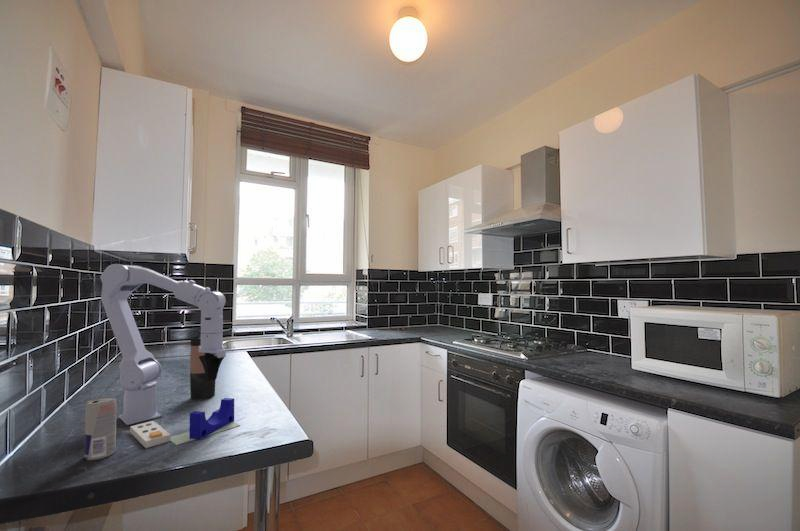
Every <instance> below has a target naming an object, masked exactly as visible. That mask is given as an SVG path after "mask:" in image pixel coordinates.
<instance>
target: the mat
mask: <svg viewBox="0 0 800 531" xmlns="http://www.w3.org/2000/svg"><path fill="white" fill-rule="evenodd" d="M240 426H241V425H240V424H239V423H237V422H236V421H235V420H234V421H233V422H231V423H229V424H227V425H226V426H224V427H222V428H220V429H218V430H216V431H214V432H213V433H211V434H209V435H207V436H211V435H215V434H218V433H221V432H224V431H227V430H231V429H233V428H237V427H240ZM189 436H190V430H189V431H187V432H183V433H179V434H177V435H176V434H175V435H173V436H170V441H169V442H171V443H172V444H173V445H175V446H179V445H182V444H185V443H189V442H193V441H195V440H197V439H191V438H189ZM207 436H206V437H207Z"/></svg>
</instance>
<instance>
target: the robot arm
mask: <svg viewBox="0 0 800 531" xmlns="http://www.w3.org/2000/svg"><path fill="white" fill-rule="evenodd" d="M99 278H100V281H101V283H102V287H101V295H100V296H101V297H100V300H101V302H102V306H103V308H104V310H105V314H106V316H107V318H108V321H109V324H110V327H111V329H112V333H113V335H114V338H115V341H116V343H117V345H118V348H119V351H120V354H121V356H122V359H121V361H120V362H119V364H118V369H119V382H120V384H121V386H122V387H123V388H124V394H123V409H122V410H123V411H122V412H123V414H121V415H119V416H118V418H119V419H120V420H121V421H122V422H124V424H125V425H127V426H129V425H133V424H137V423H141V422H145V421H146V422H147V421H149V420H154V419H157V418H161V417H162V415H161V414H160V412H158V411H157V382H158V378H159V377H160V376H161V374H162V365H161V363H160V361H159V360H157V359H156V358H155V356H154V354H153V353H152V352H150V351H149V350H148V349H146V346H145V344H144V341H143V339H142V336H141V334H140V331H139V328H138V326H137V323H136V320H135V317H134V315H133V312H132V310H131V307H130V305H129V302H128V299H129V297H130V295H131V294H132V293H133V292H134V291H135V290H137V289H138V288H139V287H141V286H142V285H143V284H149V285H152V286H154V287H157V288H161V289H162V290H166V291H169V292H171V293H173V294H174V297H175V299H177V300H180V301H182V302H185V303H188V304H189V305H192V306H195V307H198V309H199V310H200V336H201V346H199V352H203V353H205V355H204V356H199V359H200V361H201V362H202V365H203V367H204V371H205V375H206V379H207V380H208V381H211V380H215V381H216V380H217V377H218V373H219V368H220V366H221V364H222V363H223V362H222V361H223V360H224V358H226V356H227V355H226V353H227V350H226V349H227V346H226V345H224V344H223V343H224V342H223V341H224V340H223V339H224V337H223V334H224V329H223V328H224V323H223V322H224V321H223V320H224V316H223V315H224V314H223V312H224V311H223V309H224V306H225V305H226V302H227V300H226V296H225V295H224V294H223V293H222V292H221V291H219V290H212V291H211V288H210V287H208V286H207V287H204V286H202V285H199V284H196V281H195V280H193V279H189V280H182V281H177V280H176V279H172V278H171V277H168V276H167V275H164V274H161V273H160V272H157V271H155V270H152V269H151V268H148V267H143V266H140V265H135V264H133V265H129V264H120V263H113V264H110V265H108V266H107V267H106V268H105V269H104V271H103V272H102V273H101V275H100V276H99Z"/></svg>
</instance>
